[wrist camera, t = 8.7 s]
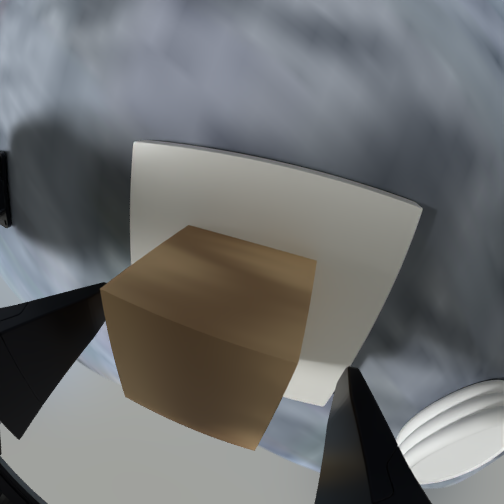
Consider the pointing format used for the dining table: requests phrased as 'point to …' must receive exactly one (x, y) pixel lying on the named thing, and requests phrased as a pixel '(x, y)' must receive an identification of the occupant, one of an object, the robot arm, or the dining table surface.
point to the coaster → (455, 433)
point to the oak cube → (210, 331)
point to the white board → (283, 237)
